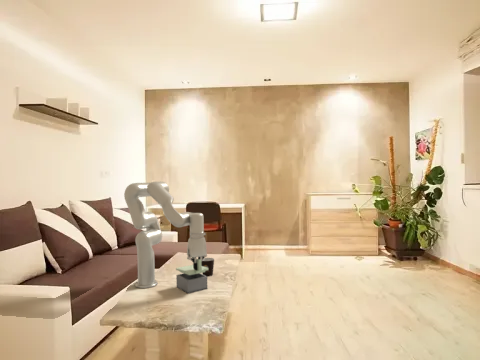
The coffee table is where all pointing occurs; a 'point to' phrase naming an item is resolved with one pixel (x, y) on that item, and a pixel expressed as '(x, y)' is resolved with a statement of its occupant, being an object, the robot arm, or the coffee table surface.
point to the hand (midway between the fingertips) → (197, 269)
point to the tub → (191, 282)
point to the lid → (192, 269)
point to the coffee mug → (208, 266)
